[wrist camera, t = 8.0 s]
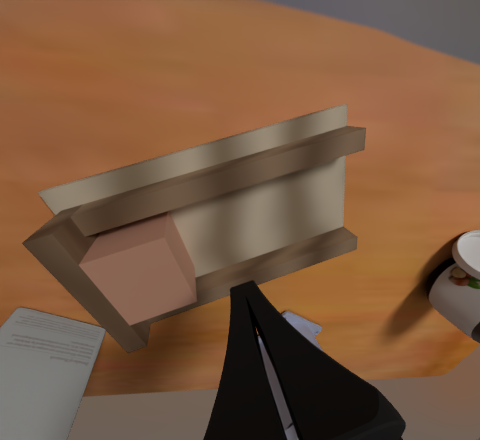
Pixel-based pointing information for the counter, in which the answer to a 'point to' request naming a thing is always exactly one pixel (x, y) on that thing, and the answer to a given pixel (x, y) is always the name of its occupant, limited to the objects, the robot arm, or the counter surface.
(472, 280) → the spread jar
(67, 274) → the channel
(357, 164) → the counter surface
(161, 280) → the block
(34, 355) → the supplement box
